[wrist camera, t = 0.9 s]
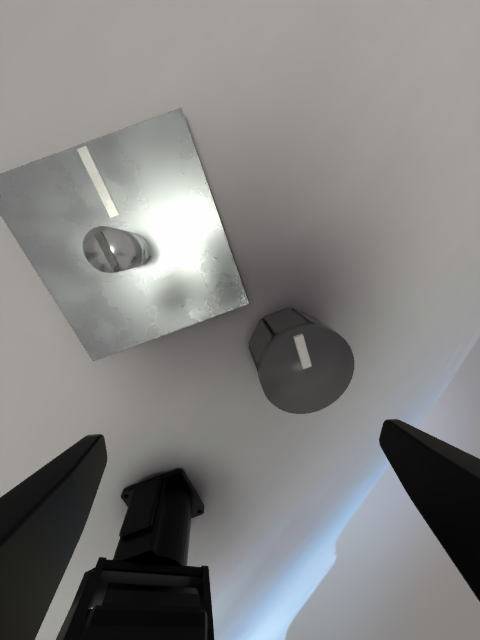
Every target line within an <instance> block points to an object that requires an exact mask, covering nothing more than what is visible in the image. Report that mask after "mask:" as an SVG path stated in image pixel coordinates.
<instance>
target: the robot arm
mask: <svg viewBox="0 0 480 640" xmlns="http://www.w3.org/2000/svg"><path fill="white" fill-rule="evenodd" d="M379 442H380V446H381V448H382V450H383V452H384V453H385V455H386V457H387V459H388V460H389V462H390V464H391V466H392V467H393V469H394V471H395V473H396V474H397V476H398V478H399V480H400V481H401V483H402V485H403V487H404V488H405V490H406V492H407V493H408V495H409V496H410V498H411V500H412V501H413V503H414V505H415V506H416V508H417V509H418V511H419V512H420V514H421V515H422V516H423V518H424V520H425V521H426V523H427V524H428V525H429V527H430V528H431V530H432V531H433V533H434V534H435V536H436V537H437V539H438V540H439V542H440V543H441V545H442V546H443V548H444V549H445V551H446V552H447V554H448V555H449V557H450V558H451V560H452V561H453V563H454V564H455V566H456V567H457V568H458V570H459V572H460V573H461V575H462V576H463V578H464V579H465V581H466V582H467V584H468V585H469V587H470V588H471V590H472V591H473V593H474V594H475V596H476V597H477V599H478V600H479V601H480V459H479V458H477V457H475V456H472V455H470V454H468V453H466V452H464V451H462V450H460V449H458V448H456V447H454V446H452V445H450V444H448V443H446V442H444V441H442V440H439V439H437V438H435V437H433V436H431V435H429V434H427V433H425V432H423V431H421V430H419V429H417V428H415V427H413V426H411V425H409V424H407V423H405V422H402V421H400V420H397V419H390V420H385V421H384V423H383V426H382V430H381V434H380V438H379ZM106 463H107V451H106V445H105V439H104V436H103V435H101V434H96V435H87V436H85V437H84V438H82V439H81V440H80V441H78V442H77V443H75V444H74V445H73V446H71V447H70V448H69V449H67V450H66V451H64V452H63V453H62V454H60V455H59V456H57V457H56V458H55V459H53V460H52V461H50V462H49V463H48V464H46V465H45V466H44V467H42V468H41V469H39V470H38V471H37V472H35V473H34V474H32V475H31V476H30V477H28V478H27V479H25V480H24V481H23V482H21V483H20V484H19V485H17V486H16V487H14V488H13V489H12V490H10V491H9V492H7V493H6V494H5V495H3V496H2V497H0V640H35V638H36V635H37V633H38V631H39V629H40V626H41V624H42V622H43V620H44V617H45V615H46V613H47V611H48V609H49V606H50V604H51V602H52V600H53V597H54V595H55V593H56V591H57V588H58V586H59V584H60V582H61V579H62V577H63V575H64V573H65V570H66V568H67V566H68V564H69V561H70V559H71V557H72V555H73V552H74V550H75V548H76V546H77V543H78V541H79V539H80V536H81V534H82V532H83V529H84V527H85V524H86V521H87V519H88V516H89V513H90V510H91V507H92V504H93V501H94V499H95V496H96V493H97V490H98V487H99V484H100V481H101V478H102V475H103V472H104V470H105V467H106ZM121 498H122V499H123V501H124V502H125V503H126V505H127V506H128V510H127V513H126V516H125V519H124V522H123V524H122V527H121V530H120V533H119V536H120V540H119V543H118V546H117V549H116V552H115V555H114V558H113V560H106V558H103V557H99V559H98V562H97V564H96V567H95V568H93V569H92V570H90V571H87V572H85V574H84V576H83V579H82V581H81V584H80V586H79V589H78V591H77V594H76V596H75V598H74V601H73V603H72V606H71V608H70V610H69V612H68V614H67V617H66V619H65V621H64V623H63V625H62V627H61V630H60V632H59V634H58V636H57V638H56V640H214V629H213V617H212V605H211V593H210V581H209V569H208V566H201V567H192V566H187V558H188V547H189V535H190V523H191V518H194V517H196V516H199V515H202V514H203V513H204V505H203V504H202V502H201V500H200V498H199V497H198V495H197V493H196V492H195V490H194V488H193V487H192V485H191V483H190V482H189V480H188V478H187V476H186V475H185V473H184V471H183V470H181V469H177V470H174V471H172V472H169V473H166V474H164V475H161V476H158V477H156V478H153V479H150V480H148V481H145V482H142V483H140V484H137V485H134V486H131V487H129V488H126V489H124V490H123V491H122V494H121ZM91 607H94V608H93V609H91Z"/></svg>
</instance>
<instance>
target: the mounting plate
mask: <svg viewBox="0 0 480 640" xmlns="http://www.w3.org/2000/svg"><path fill="white" fill-rule="evenodd" d="M0 215H1V217H2V218H3V220H4V221H5V223H6V224H7V226H8V228H9V229H10V231H11V232H12V234H13V236H14V237H15V239H16V240H17V242H18V243H19V245H20V247H21V248H22V250H23V251H24V253H25V254H26V256H27V258H28V259H29V261H30V262H31V264H32V266H33V267H34V269H35V270H36V272H37V273H38V275H39V277H40V278H41V280H42V281H43V283H44V285H45V286H46V288H47V289H48V291H49V292H50V294H51V296H52V297H53V299H54V300H55V302H56V303H57V305H58V307H59V308H60V310H61V311H62V313H63V315H64V316H65V318H66V319H67V321H68V322H69V324H70V326H71V327H72V329H73V330H74V332H75V333H76V335H77V337H78V338H79V340H80V341H81V343H82V345H83V346H84V348H85V349H86V351H87V352H88V354H89V356H90V357H91V359H92V360H93V361H95V360H98V359H101V358H104V357H106V356H109V355H112V354H114V353H117V352H120V351H123V350H125V349H128V348H131V347H133V346H136V345H139V344H142V343H144V342H147V341H150V340H152V339H155V338H158V337H160V336H163V335H166V334H169V333H171V332H174V331H177V330H179V329H182V328H185V327H188V326H190V325H193V324H196V323H198V322H201V321H204V320H206V319H209V318H212V317H215V316H217V315H220V314H223V313H225V312H228V311H231V310H234V309H236V308H239V307H242V306H244V305H247V304H249V302H248V299H247V296H246V293H245V291H244V288H243V285H242V282H241V279H240V276H239V273H238V270H237V267H236V264H235V262H234V259H233V256H232V253H231V250H230V247H229V244H228V241H227V238H226V236H225V233H224V230H223V227H222V224H221V221H220V218H219V215H218V212H217V210H216V207H215V204H214V201H213V198H212V195H211V192H210V189H209V186H208V183H207V181H206V178H205V175H204V172H203V169H202V166H201V163H200V160H199V157H198V155H197V152H196V149H195V146H194V143H193V140H192V137H191V134H190V131H189V129H188V126H187V123H186V120H185V117H184V114H183V111H182V108H179V109H176V110H174V111H171V112H168V113H166V114H163V115H160V116H157V117H155V118H152V119H149V120H146V121H144V122H141V123H138V124H135V125H133V126H130V127H127V128H124V129H122V130H119V131H116V132H113V133H111V134H108V135H105V136H103V137H100V138H97V139H94V140H92V141H89V142H86V143H83V144H81V145H78V146H75V147H72V148H70V149H67V150H64V151H61V152H59V153H56V154H53V155H50V156H48V157H45V158H42V159H40V160H37V161H34V162H31V163H29V164H26V165H23V166H20V167H18V168H15V169H12V170H9V171H7V172H4V173H1V174H0Z"/></svg>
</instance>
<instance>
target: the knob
mask: <svg viewBox="0 0 480 640" xmlns="http://www.w3.org/2000/svg"><path fill="white" fill-rule="evenodd" d="M264 320H265V321H263V320H260V322H259V324H258V325H257V327H256V329H255V331H254V333H253V335H252V337H251V339H250V341H249V345H250V346H249V349H250V352H251V354H252V357H253V360H254V363H255V365H256V368H257V371H258V375H259V380H260V383H261V386H262V388H263V391H264V393H265V395H266V397H267V398H268V400H269V401H270V402H271V403H272V404H273V405H275V406H276V407H278V408H279V409H281V410H283V411H286V412H290V413H296V414H305V413H311V412H315V411H318V410H321V409H323V408H325V407H327V406H329V405H330V404H332V403H333V402H335V401H336V400H337V399H338V398H339V397H340V396H341V395H342V394H343V393H344V391H345V390H346V388H347V387H348V385H349V383H350V381H351V379H352V375H353V371H354V357H353V353H352V350H351V348H350V346H349V345H348V343H347V342H346V341H345V340H344V339H343V338H342V337H341V336H340V335H339V334H338V333H336V332H335V331H333V330H332V329H330V328H329V327H327V326H325V325H324V324H322V323H321V322H319V321H318V320H316V319H315V318H313V317H311V316H309V315H307V314H304V313H302V312H300V311H298V310H296V309H294V308H292V309H290V308H287V309H284V310H281V311H278V312H276V313H273V314H270V315H268V316H265V317H264Z"/></svg>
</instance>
